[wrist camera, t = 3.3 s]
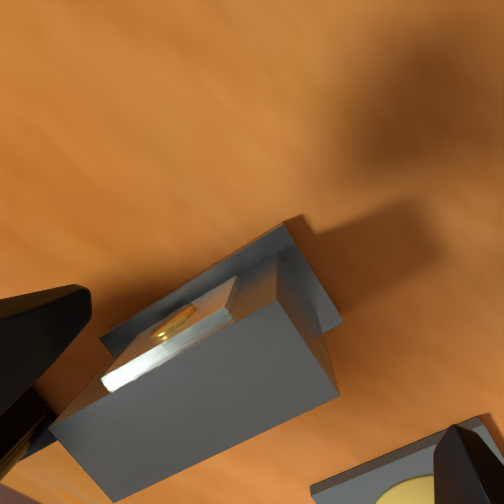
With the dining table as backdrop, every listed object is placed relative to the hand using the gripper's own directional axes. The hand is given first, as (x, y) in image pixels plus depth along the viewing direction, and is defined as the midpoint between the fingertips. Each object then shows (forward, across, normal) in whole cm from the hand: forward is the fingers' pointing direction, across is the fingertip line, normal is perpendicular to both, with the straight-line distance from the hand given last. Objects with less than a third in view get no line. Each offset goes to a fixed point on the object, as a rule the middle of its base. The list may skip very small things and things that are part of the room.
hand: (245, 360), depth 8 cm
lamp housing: (+8, +3, +6) cm, 11 cm away
